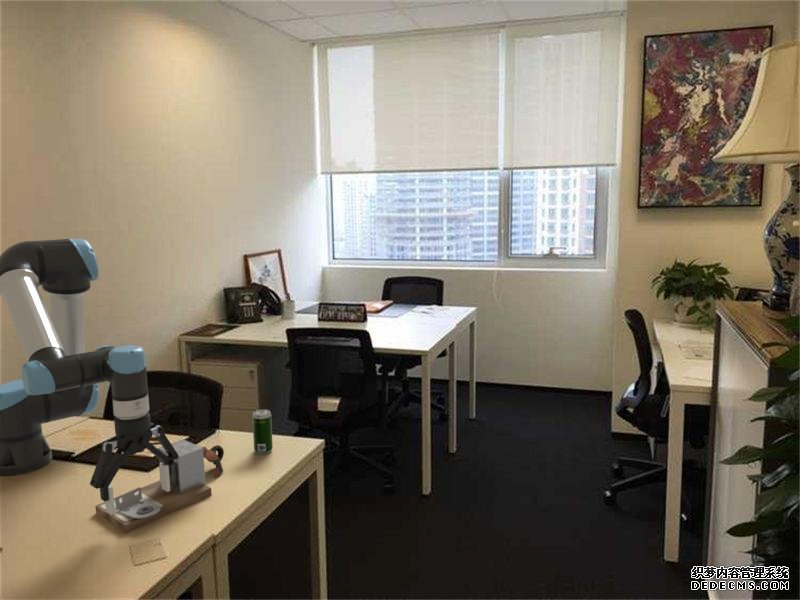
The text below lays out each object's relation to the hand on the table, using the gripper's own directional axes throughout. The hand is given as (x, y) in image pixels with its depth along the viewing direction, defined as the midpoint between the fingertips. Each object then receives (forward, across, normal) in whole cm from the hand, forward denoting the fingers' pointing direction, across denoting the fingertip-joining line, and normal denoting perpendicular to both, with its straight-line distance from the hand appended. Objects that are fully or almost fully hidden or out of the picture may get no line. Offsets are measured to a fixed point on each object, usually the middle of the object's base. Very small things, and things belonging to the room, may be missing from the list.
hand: (139, 500), depth 144 cm
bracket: (+3, 0, 0) cm, 3 cm away
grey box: (+3, +14, +4) cm, 14 cm away
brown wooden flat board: (+5, +6, +4) cm, 9 cm away
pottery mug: (+5, +24, +9) cm, 27 cm away
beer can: (+5, +43, +8) cm, 44 cm away
